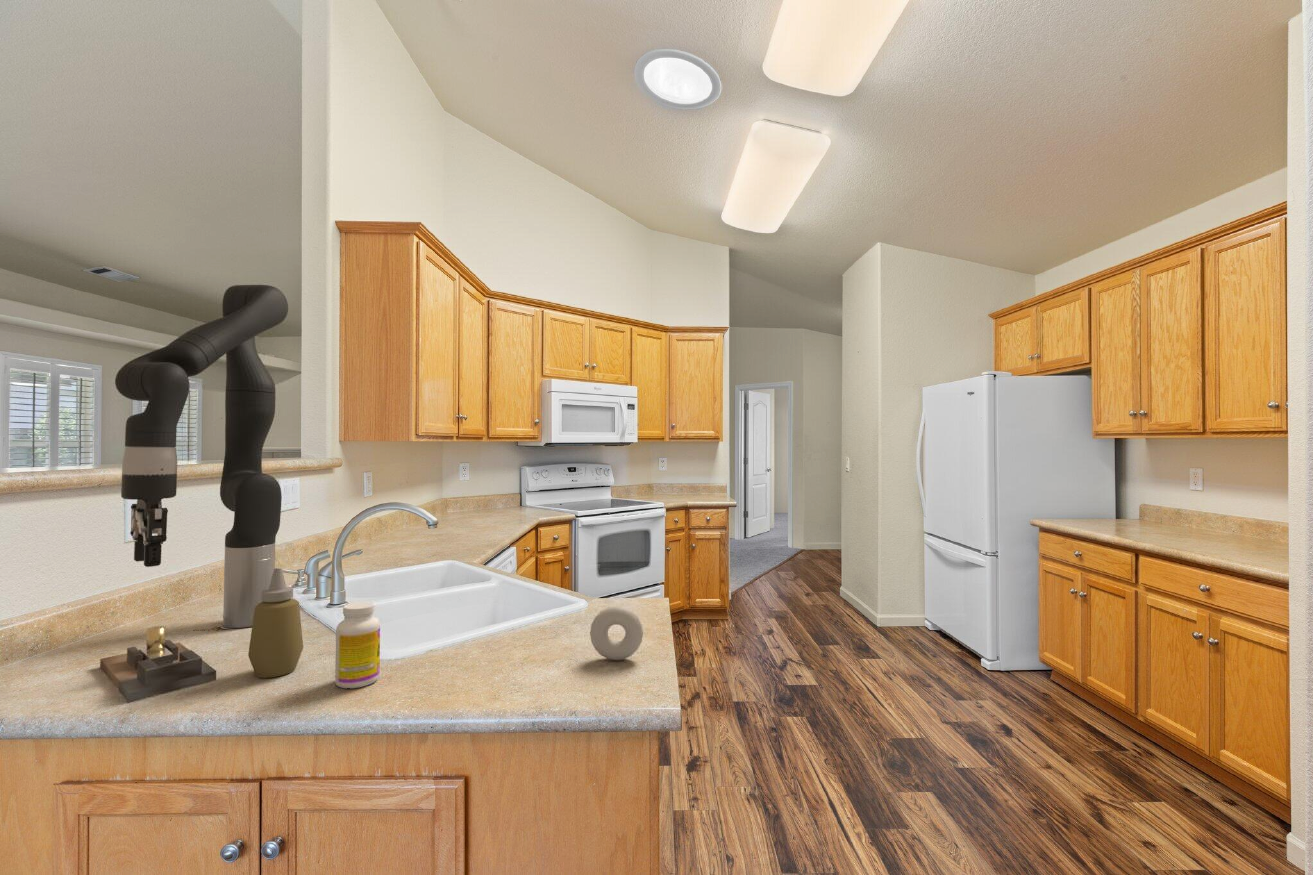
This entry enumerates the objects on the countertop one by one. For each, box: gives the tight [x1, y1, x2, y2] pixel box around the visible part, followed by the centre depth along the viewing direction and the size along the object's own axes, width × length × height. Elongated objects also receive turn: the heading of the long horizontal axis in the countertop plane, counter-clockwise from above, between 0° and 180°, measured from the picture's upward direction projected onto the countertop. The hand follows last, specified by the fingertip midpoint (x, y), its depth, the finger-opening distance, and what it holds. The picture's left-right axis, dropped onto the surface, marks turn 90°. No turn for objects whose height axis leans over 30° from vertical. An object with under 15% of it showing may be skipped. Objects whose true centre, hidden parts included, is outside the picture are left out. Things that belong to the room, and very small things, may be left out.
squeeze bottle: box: [247, 567, 304, 679], centre depth 100 cm, size 8×8×18 cm
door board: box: [99, 639, 217, 703], centre depth 99 cm, size 11×22×4 cm, turn 52°
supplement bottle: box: [334, 601, 381, 689], centre depth 97 cm, size 7×7×13 cm
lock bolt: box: [138, 625, 173, 667], centre depth 100 cm, size 3×8×6 cm, turn 52°
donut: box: [589, 605, 644, 661], centre depth 108 cm, size 10×4×10 cm, turn 90°
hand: (147, 563), depth 104 cm, fingers open, 7 cm apart
